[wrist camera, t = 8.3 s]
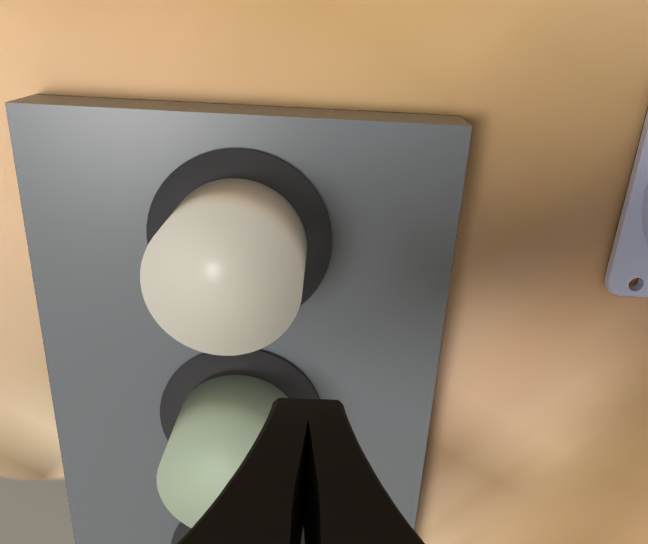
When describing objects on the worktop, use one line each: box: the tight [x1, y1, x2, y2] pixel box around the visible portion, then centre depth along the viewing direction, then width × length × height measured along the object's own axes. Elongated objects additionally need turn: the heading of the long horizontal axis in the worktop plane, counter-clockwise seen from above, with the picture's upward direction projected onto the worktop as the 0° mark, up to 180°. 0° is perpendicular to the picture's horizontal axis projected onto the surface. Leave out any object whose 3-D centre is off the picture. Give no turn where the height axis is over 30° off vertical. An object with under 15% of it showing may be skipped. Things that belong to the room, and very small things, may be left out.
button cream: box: [140, 178, 307, 356], centre depth 18 cm, size 4×4×3 cm
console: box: [5, 94, 472, 544], centre depth 23 cm, size 14×22×2 cm, turn 177°
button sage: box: [157, 375, 288, 528], centre depth 20 cm, size 4×4×3 cm
